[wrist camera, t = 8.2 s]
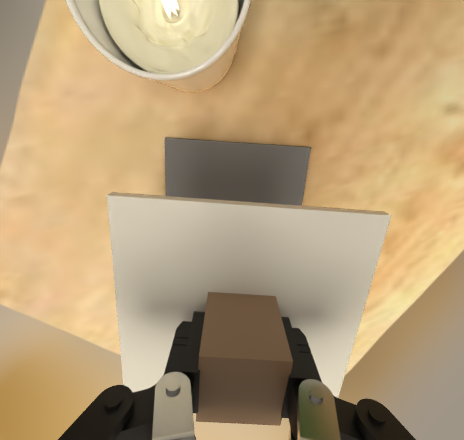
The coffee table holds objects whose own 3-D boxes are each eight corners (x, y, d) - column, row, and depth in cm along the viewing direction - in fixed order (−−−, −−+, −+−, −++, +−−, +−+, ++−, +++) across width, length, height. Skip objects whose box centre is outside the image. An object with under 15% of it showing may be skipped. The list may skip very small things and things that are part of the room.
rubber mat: (309, 147, 27) (310, 147, 27) (289, 272, 32) (290, 274, 32) (165, 137, 27) (164, 137, 26) (168, 265, 32) (167, 267, 31)
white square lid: (384, 211, 13) (465, 255, 8) (330, 402, 17) (364, 497, 12) (112, 192, 12) (46, 227, 8) (128, 391, 16) (91, 485, 12)
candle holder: (158, -48, 22) (79, -236, 11) (262, 11, 23) (291, -101, 12) (124, 72, 25) (34, 26, 14) (218, 118, 26) (208, 110, 15)
